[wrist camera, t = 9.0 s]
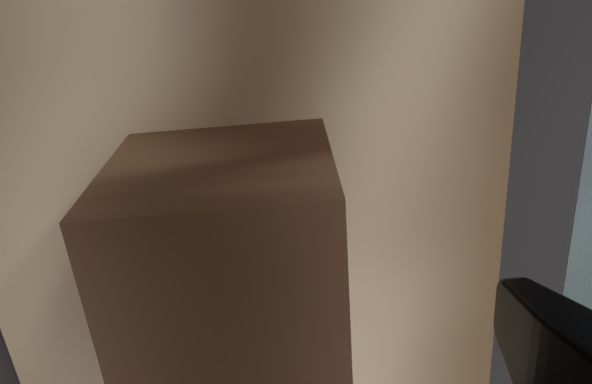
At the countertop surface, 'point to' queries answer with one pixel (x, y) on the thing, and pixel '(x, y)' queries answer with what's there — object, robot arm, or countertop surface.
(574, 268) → the countertop surface
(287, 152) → the lid
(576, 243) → the countertop surface
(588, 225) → the countertop surface
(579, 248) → the countertop surface
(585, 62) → the mat
